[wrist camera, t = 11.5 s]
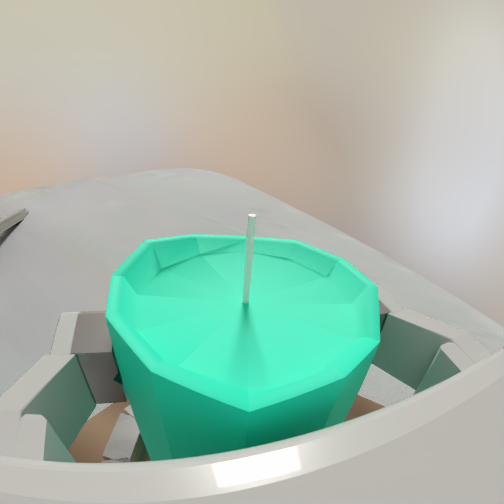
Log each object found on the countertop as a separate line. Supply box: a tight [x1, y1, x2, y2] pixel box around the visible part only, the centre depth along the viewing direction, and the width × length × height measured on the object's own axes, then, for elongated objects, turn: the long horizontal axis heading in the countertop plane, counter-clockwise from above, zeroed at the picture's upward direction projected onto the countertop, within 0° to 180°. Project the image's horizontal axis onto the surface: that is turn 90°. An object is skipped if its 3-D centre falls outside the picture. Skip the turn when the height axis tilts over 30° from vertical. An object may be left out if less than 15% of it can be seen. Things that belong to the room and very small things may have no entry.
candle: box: [105, 214, 380, 461], centre depth 9 cm, size 6×6×12 cm
